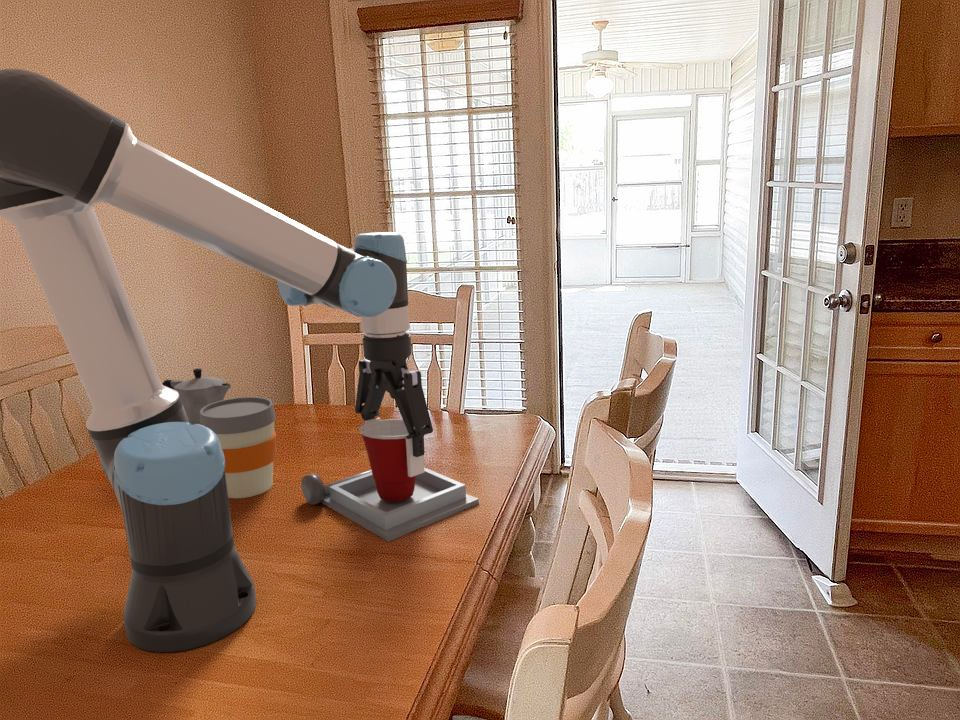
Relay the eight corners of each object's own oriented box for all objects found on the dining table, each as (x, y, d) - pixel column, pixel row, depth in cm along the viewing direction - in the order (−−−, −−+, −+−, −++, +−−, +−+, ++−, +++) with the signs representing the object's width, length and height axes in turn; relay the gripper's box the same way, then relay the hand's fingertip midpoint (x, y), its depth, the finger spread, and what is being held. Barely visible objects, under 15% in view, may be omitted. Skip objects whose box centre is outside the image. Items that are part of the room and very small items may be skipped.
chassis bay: (379, 545, 105) (376, 514, 103) (302, 500, 121) (300, 472, 120) (486, 500, 118) (484, 472, 117) (404, 464, 135) (402, 439, 134)
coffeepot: (250, 448, 147) (240, 363, 143) (226, 465, 138) (215, 375, 134) (182, 445, 150) (170, 362, 146) (155, 462, 141) (141, 374, 137)
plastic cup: (443, 488, 120) (439, 420, 117) (402, 513, 111) (397, 440, 108) (392, 476, 126) (387, 411, 123) (350, 499, 117) (344, 429, 114)
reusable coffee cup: (296, 485, 127) (288, 404, 124) (231, 509, 119) (220, 423, 115) (259, 468, 136) (250, 392, 132) (196, 490, 127) (184, 409, 123)
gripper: (452, 338, 106) (458, 477, 111) (365, 320, 123) (374, 442, 128) (411, 347, 101) (420, 492, 106) (326, 327, 118) (337, 453, 123)
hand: (395, 464), depth 117 cm, fingers closed on plastic cup, 11 cm apart
